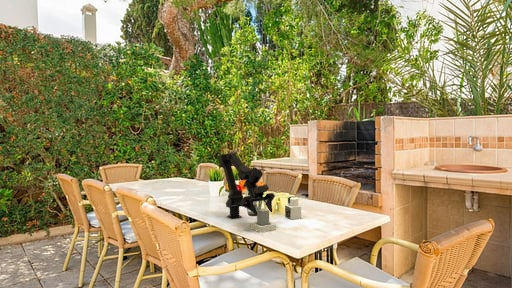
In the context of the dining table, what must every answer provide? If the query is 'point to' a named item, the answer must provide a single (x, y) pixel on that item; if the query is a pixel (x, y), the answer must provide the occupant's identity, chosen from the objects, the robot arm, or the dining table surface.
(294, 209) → the yellow black printed box
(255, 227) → the tray
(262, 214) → the grey tall block
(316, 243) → the dining table surface
